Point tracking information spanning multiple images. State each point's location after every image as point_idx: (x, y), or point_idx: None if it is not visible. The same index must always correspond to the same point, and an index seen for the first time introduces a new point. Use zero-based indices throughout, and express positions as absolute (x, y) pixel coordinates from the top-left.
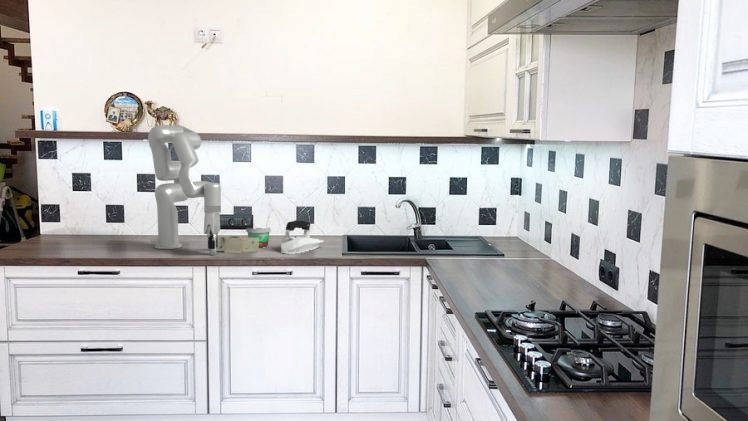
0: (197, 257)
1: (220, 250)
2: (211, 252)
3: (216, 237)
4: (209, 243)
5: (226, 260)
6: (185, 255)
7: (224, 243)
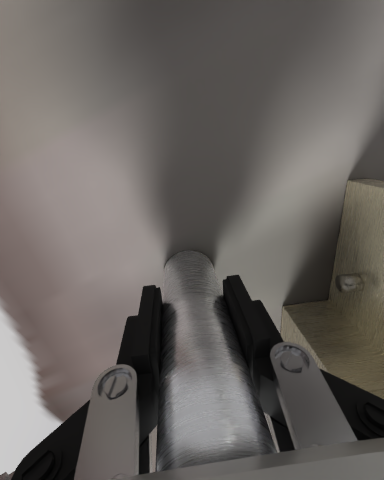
0: (46, 204)
1: (338, 264)
2: (163, 285)
3: (271, 421)
4: (121, 349)
5: (52, 407)
6: (79, 26)
7: (321, 365)
